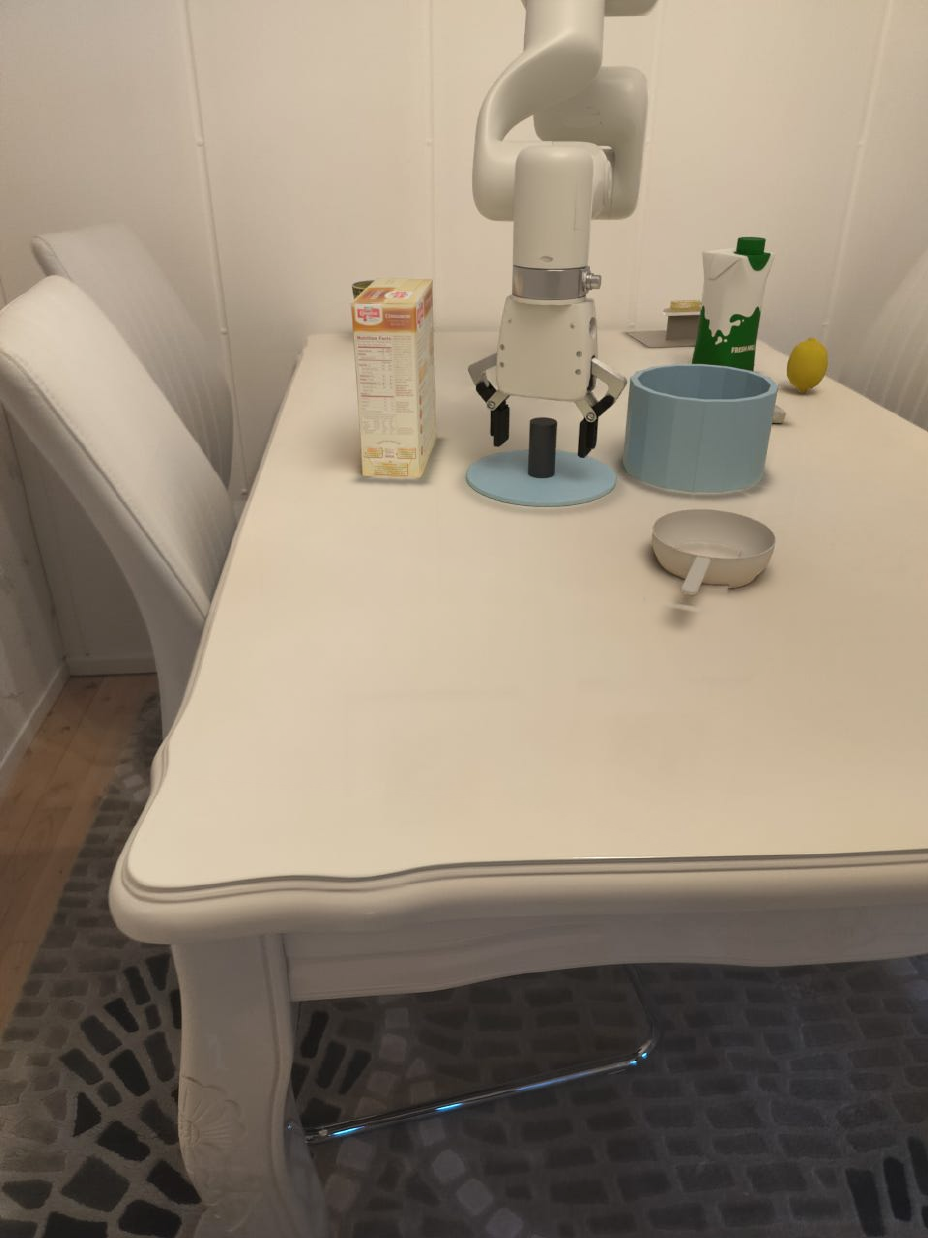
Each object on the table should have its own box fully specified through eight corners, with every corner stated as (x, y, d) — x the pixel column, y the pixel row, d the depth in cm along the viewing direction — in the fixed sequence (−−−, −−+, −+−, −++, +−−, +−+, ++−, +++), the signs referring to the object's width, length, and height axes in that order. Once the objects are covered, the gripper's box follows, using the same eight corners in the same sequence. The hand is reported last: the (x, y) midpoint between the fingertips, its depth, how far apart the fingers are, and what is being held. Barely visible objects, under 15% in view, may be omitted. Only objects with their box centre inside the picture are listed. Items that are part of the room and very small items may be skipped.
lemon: (824, 398, 129) (835, 342, 125) (784, 396, 130) (794, 340, 126) (819, 388, 133) (829, 334, 129) (780, 386, 134) (790, 332, 130)
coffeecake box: (383, 438, 113) (375, 276, 104) (438, 440, 113) (435, 277, 103) (359, 480, 100) (347, 300, 91) (421, 482, 100) (416, 301, 90)
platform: (627, 333, 167) (630, 296, 164) (717, 329, 170) (722, 293, 167) (649, 347, 157) (652, 308, 154) (744, 343, 160) (750, 305, 156)
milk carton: (723, 381, 137) (743, 242, 127) (681, 369, 144) (697, 235, 134) (762, 373, 141) (784, 237, 131) (719, 362, 148) (737, 231, 138)
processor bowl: (608, 485, 99) (616, 391, 94) (640, 443, 111) (648, 358, 106) (752, 505, 94) (768, 408, 88) (768, 459, 106) (784, 371, 101)
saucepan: (775, 553, 84) (782, 515, 82) (751, 645, 69) (759, 602, 67) (661, 535, 87) (666, 499, 85) (616, 619, 73) (620, 577, 71)
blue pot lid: (442, 497, 96) (441, 434, 92) (498, 450, 109) (499, 393, 106) (592, 521, 90) (597, 454, 87) (631, 468, 104) (637, 409, 100)
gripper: (642, 283, 89) (627, 448, 98) (483, 274, 95) (482, 430, 103) (624, 295, 83) (610, 469, 91) (455, 284, 89) (456, 449, 97)
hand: (542, 448), depth 97 cm, fingers open, 9 cm apart
